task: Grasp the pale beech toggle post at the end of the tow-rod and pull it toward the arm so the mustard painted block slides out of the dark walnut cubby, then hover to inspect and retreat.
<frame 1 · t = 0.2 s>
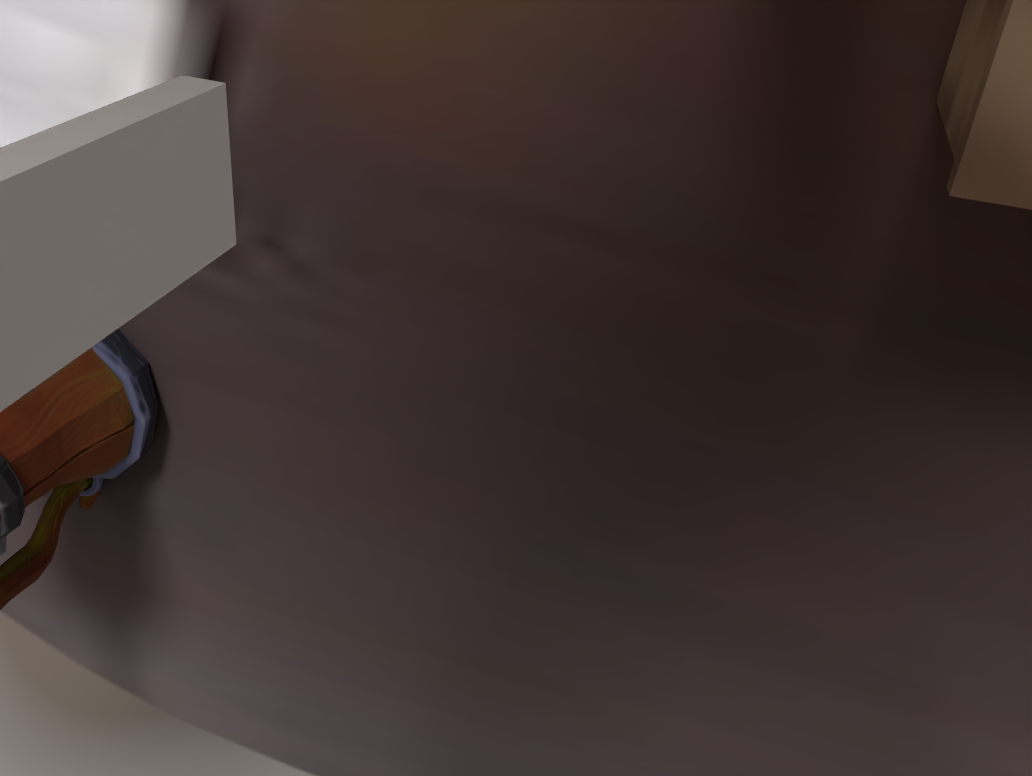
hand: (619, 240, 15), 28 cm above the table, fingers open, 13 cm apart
mug: (89, 423, 60), on the table
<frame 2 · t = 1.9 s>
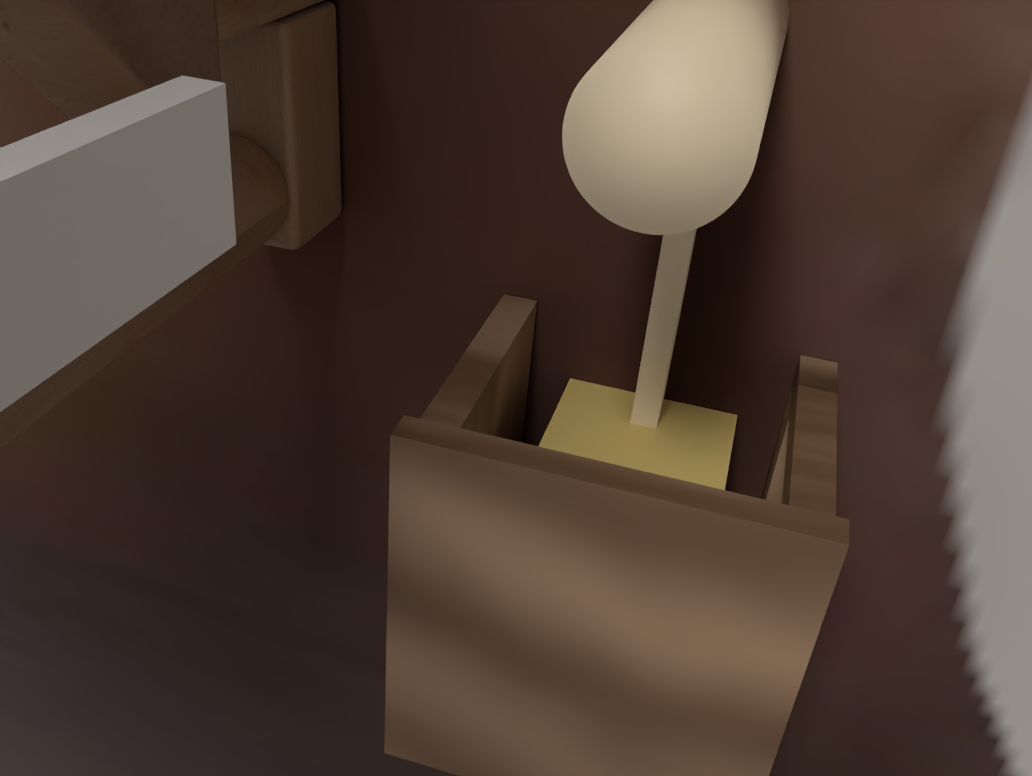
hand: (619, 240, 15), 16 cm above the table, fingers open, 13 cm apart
wooden block: (293, 49, 32), on the table
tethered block: (637, 475, 37), on the table
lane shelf: (638, 468, 36), on the table
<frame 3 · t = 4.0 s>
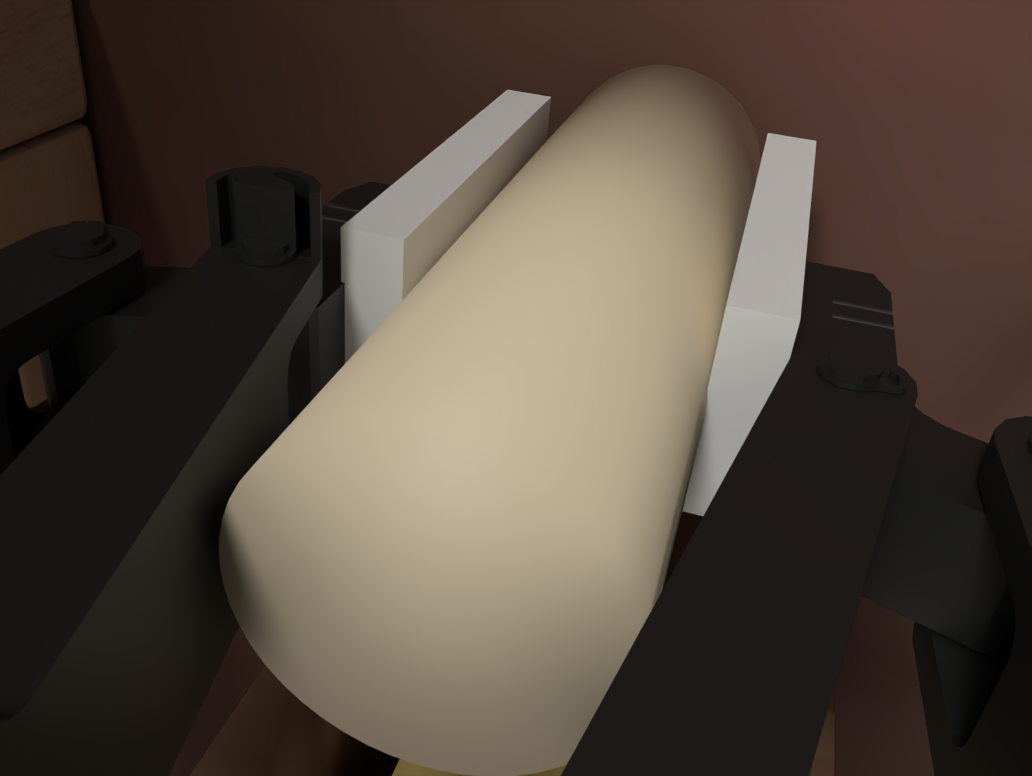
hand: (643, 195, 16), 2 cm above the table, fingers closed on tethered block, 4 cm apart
wooden block: (45, 183, 22), on the table
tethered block: (558, 753, 26), on the table, touching gripper
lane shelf: (559, 748, 26), on the table
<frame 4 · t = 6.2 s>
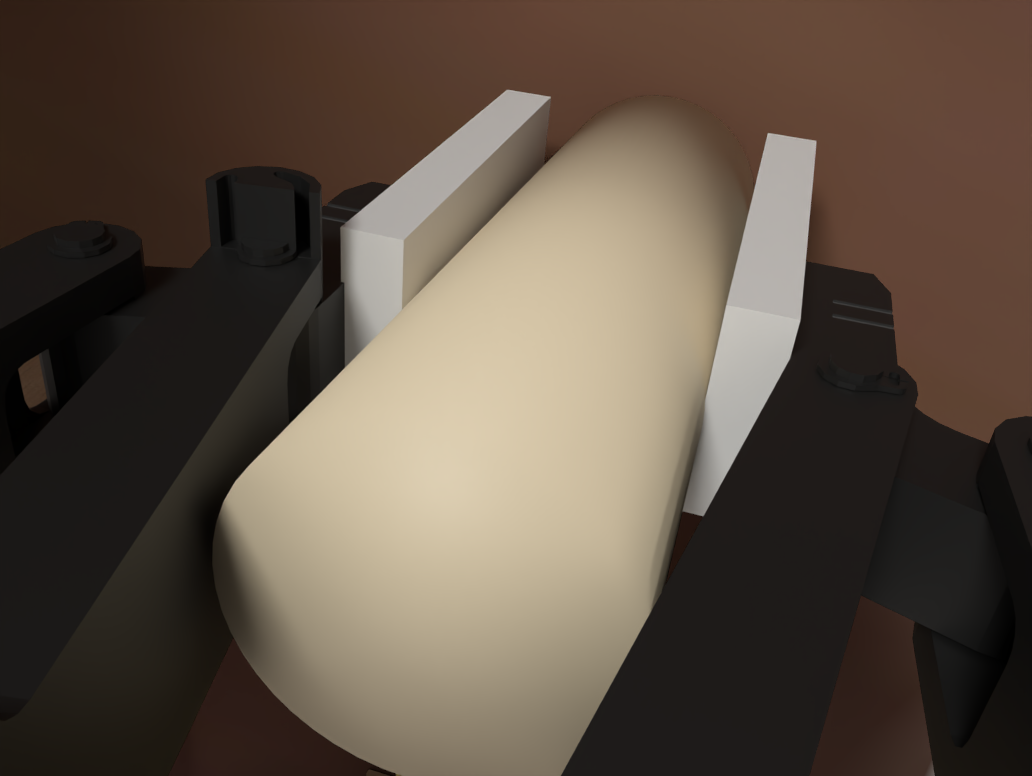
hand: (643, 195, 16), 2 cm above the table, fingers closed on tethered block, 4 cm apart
wooden block: (107, 512, 27), on the table
when the fingers open (2 cm above the table, at t = 8.4 s): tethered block stays where it is, on the table.
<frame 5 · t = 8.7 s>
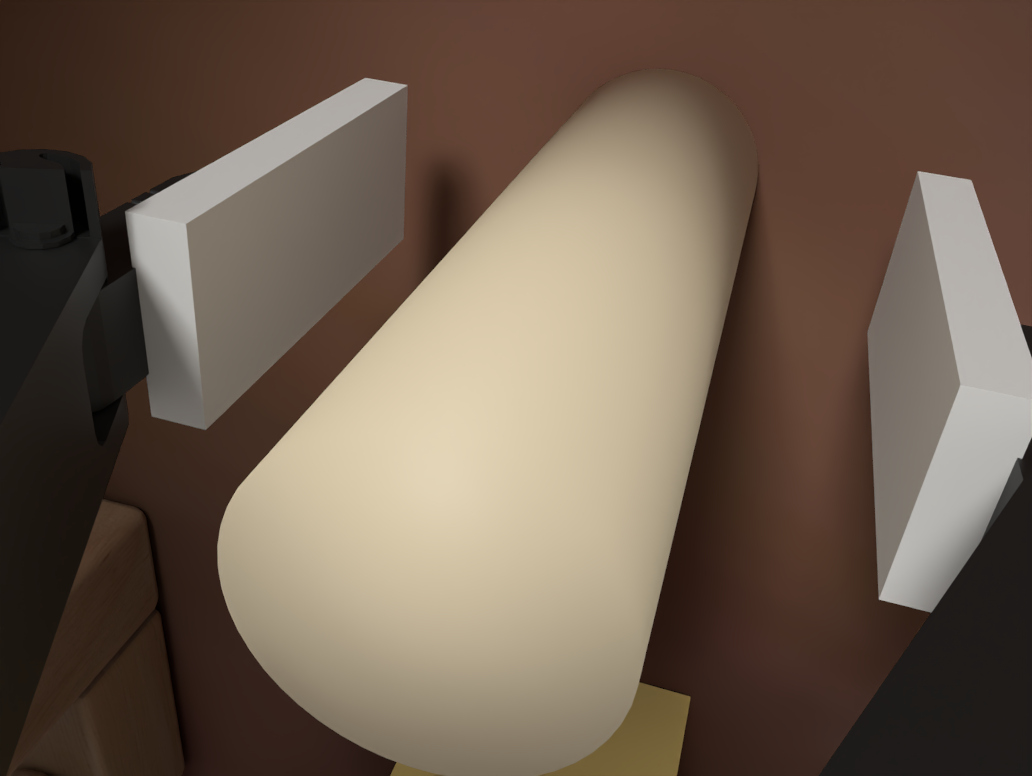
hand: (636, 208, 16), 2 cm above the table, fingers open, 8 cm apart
wooden block: (122, 628, 29), on the table
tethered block: (556, 754, 26), on the table
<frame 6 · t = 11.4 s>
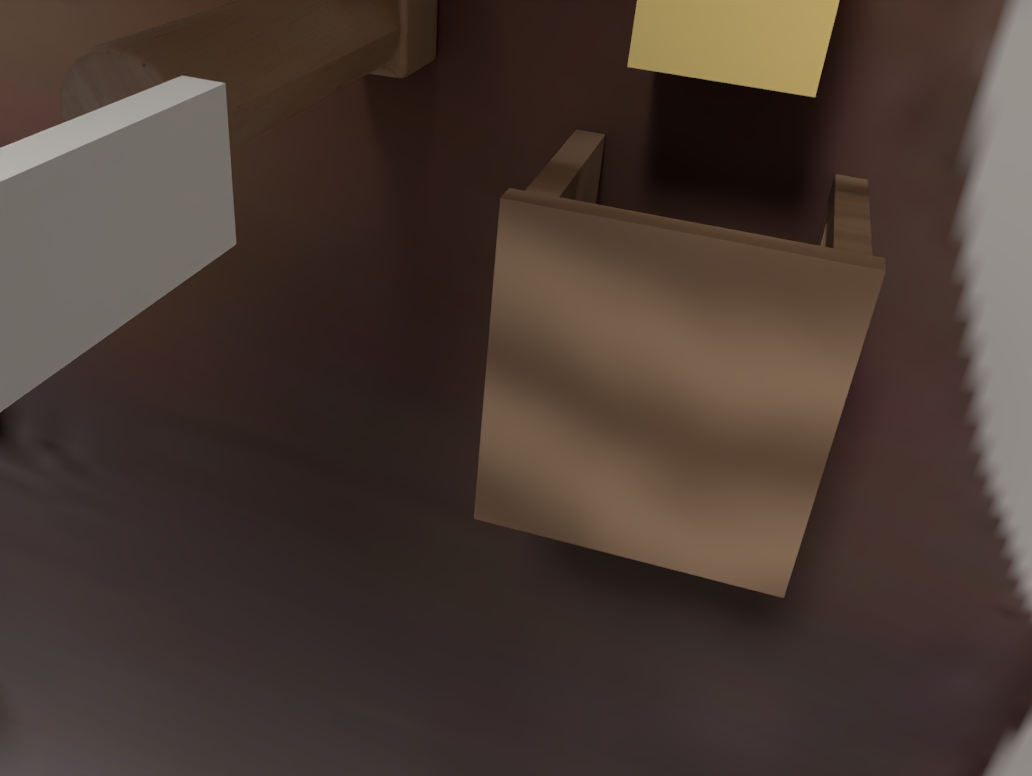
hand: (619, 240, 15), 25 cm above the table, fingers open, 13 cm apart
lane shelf: (690, 291, 42), on the table
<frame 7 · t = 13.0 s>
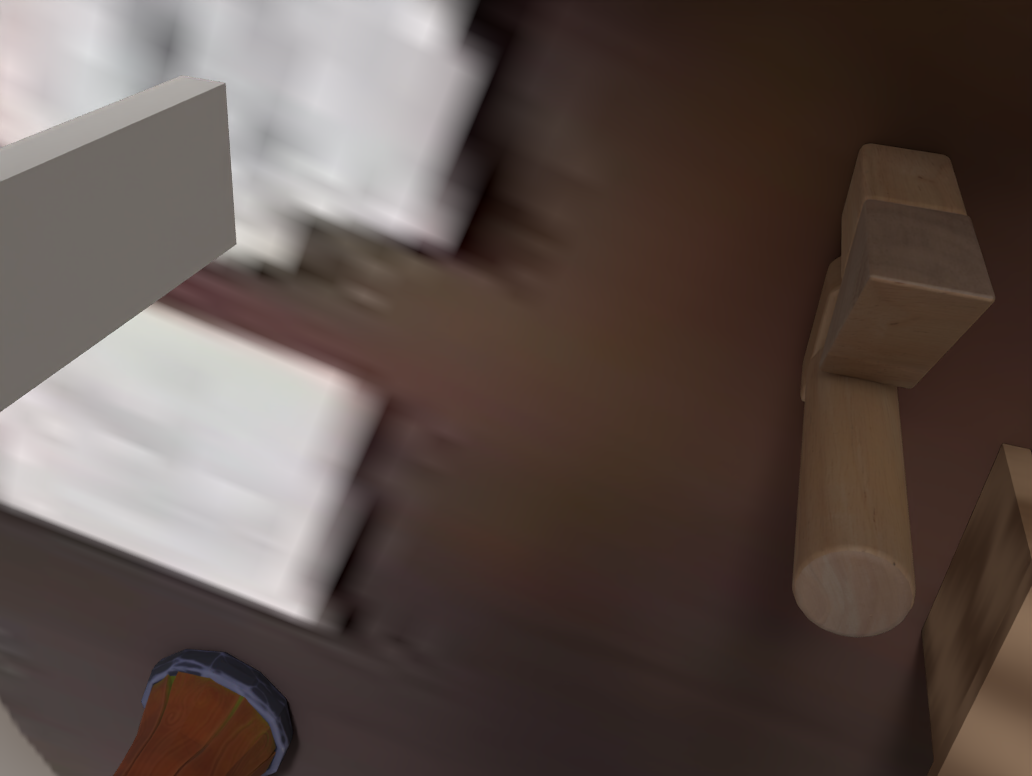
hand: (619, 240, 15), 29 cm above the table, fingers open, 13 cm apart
mug: (230, 730, 73), on the table
wooden block: (870, 265, 43), on the table
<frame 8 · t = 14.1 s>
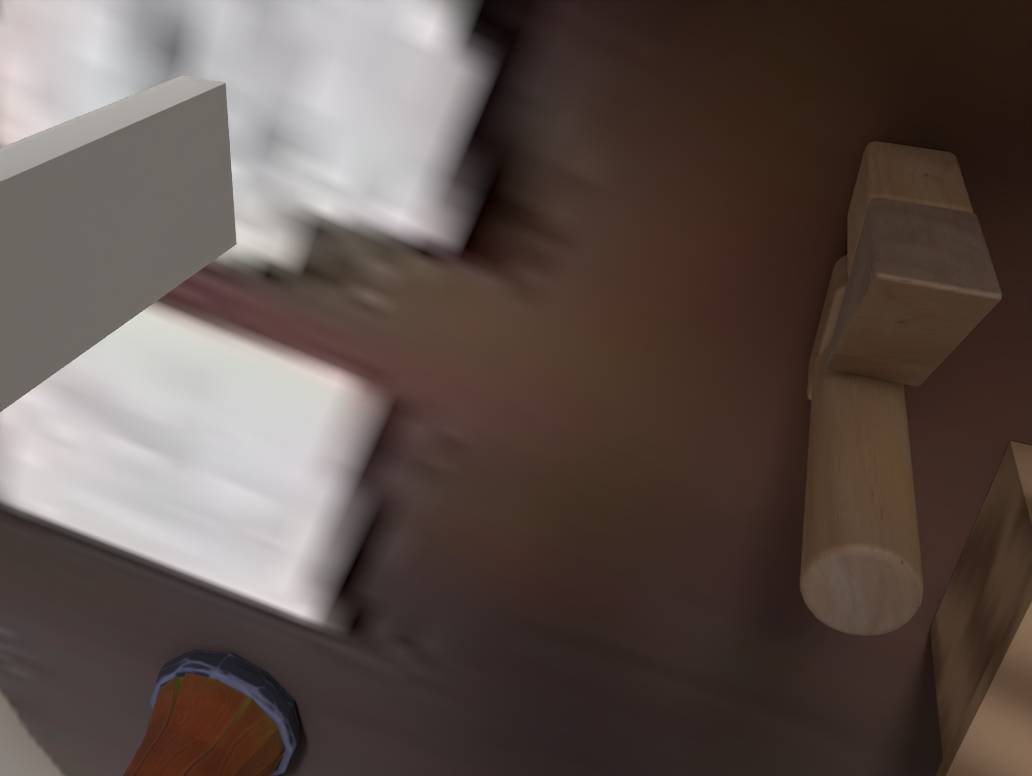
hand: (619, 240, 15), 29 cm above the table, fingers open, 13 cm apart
mug: (237, 730, 73), on the table
wooden block: (876, 263, 43), on the table
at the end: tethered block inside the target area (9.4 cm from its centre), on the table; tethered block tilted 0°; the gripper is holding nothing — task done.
